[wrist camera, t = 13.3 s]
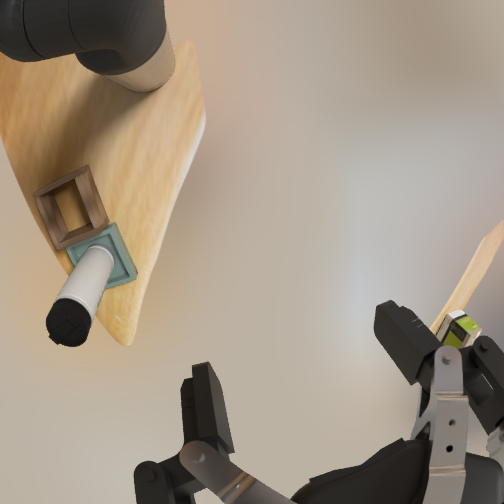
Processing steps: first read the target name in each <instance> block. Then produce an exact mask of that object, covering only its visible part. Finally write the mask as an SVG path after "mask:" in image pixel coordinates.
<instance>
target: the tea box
mask: <svg viewBox="0 0 504 504" xmlns="http://www.w3.org/2000/svg"><path fill="white" fill-rule="evenodd" d="M481 331H482V329H481V328H480V327H479V326H478V325H477V324H476V323H475V322H474V321H473V320H472V319H471V318H470V317H469V316H467V315H466V314H465V313H464V312H463V311H462V310H461V309H459V310H456V311H453V312H450V313H448V314H447V316H446V318H445V320H444V322H443V324H442V326H441V328H440V330H439V332H438V334H437V335H436V337H437V338H438V340H439V341H440V342H441V343H442V344H443V345H444V346H445V345H449V346H453V347H455V348H456V349H460V348H464V347H467V346H471V345H472V344H473V342H474V340H475V339H476V338H477V337H478V336H479V335H480V333H481Z"/></svg>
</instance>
